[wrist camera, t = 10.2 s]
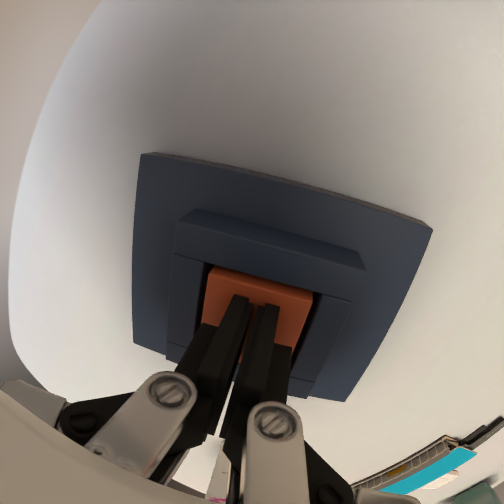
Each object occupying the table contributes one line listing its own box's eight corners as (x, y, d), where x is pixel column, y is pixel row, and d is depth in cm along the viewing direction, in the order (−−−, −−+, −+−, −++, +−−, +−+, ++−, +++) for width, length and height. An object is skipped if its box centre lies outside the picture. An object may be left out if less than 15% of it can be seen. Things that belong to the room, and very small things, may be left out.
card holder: (379, 508, 22) (379, 518, 21) (315, 497, 21) (314, 509, 20) (517, 429, 14) (521, 439, 13) (486, 403, 14) (492, 418, 12)
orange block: (209, 326, 13) (197, 350, 11) (222, 254, 11) (208, 273, 10) (287, 347, 12) (283, 374, 11) (312, 278, 11) (312, 301, 9)
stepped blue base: (142, 331, 16) (117, 362, 13) (154, 152, 12) (114, 157, 9) (343, 387, 14) (346, 428, 12) (423, 221, 11) (453, 245, 8)
